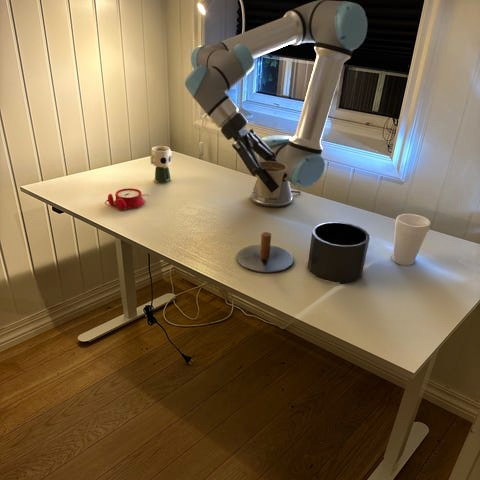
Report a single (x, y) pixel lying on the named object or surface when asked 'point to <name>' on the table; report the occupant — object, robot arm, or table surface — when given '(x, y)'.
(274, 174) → the flower pot
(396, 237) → the foam cup
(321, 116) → the robot arm
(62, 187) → the table surface
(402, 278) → the table surface
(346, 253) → the canister
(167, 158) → the character mug
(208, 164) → the table surface
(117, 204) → the alarm clock
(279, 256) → the lid
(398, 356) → the table surface
